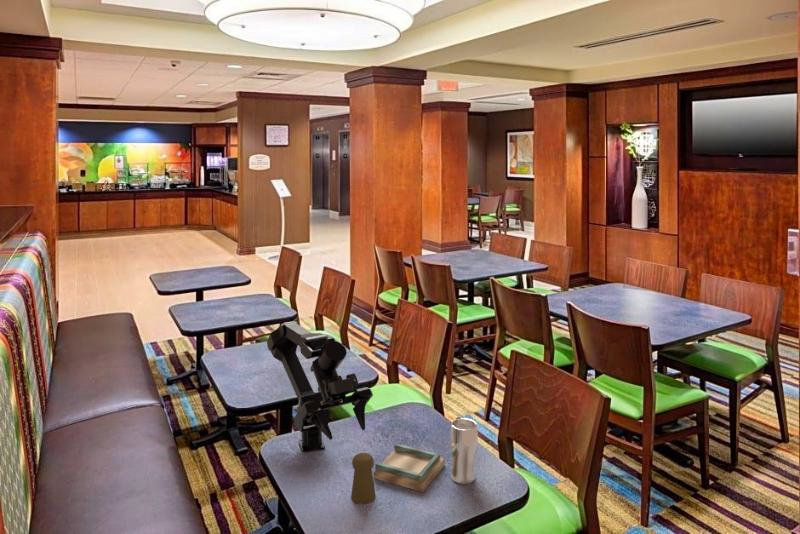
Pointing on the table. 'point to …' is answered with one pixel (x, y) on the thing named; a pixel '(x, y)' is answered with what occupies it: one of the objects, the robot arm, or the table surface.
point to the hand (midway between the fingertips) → (347, 434)
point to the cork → (363, 479)
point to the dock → (409, 467)
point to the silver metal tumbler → (463, 449)
